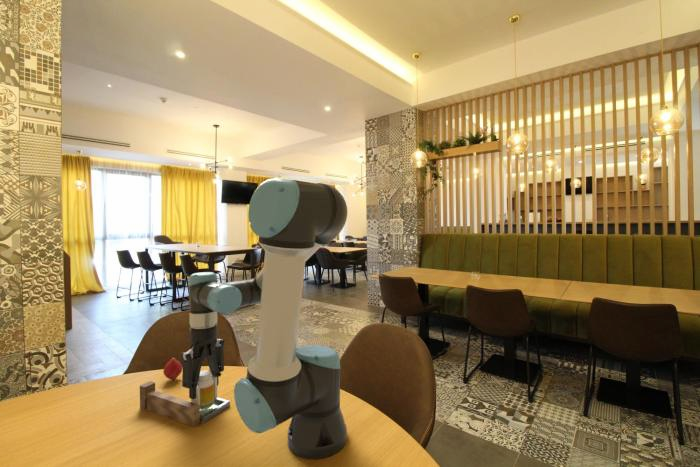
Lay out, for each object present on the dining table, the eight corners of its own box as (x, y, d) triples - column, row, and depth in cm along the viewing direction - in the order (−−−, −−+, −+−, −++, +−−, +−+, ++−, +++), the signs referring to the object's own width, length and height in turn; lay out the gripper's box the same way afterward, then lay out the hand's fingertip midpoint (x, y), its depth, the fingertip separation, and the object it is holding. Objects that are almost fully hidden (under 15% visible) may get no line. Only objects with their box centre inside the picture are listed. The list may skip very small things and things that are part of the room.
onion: (159, 383, 114) (159, 360, 114) (171, 375, 119) (171, 354, 119) (174, 384, 113) (174, 361, 113) (185, 376, 118) (185, 355, 118)
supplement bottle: (218, 401, 99) (217, 369, 99) (207, 411, 94) (206, 377, 93) (202, 399, 100) (201, 368, 100) (190, 409, 95) (189, 376, 95)
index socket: (230, 405, 99) (229, 400, 99) (202, 423, 90) (202, 418, 90) (206, 398, 104) (206, 393, 104) (177, 415, 94) (177, 409, 94)
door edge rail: (201, 421, 91) (201, 396, 91) (192, 428, 88) (191, 402, 88) (150, 403, 101) (150, 381, 100) (140, 408, 98) (139, 385, 98)
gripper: (219, 315, 106) (219, 386, 107) (165, 332, 89) (167, 416, 90) (236, 318, 103) (237, 391, 104) (184, 336, 86) (185, 423, 87)
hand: (204, 402), depth 97 cm, fingers open, 6 cm apart
